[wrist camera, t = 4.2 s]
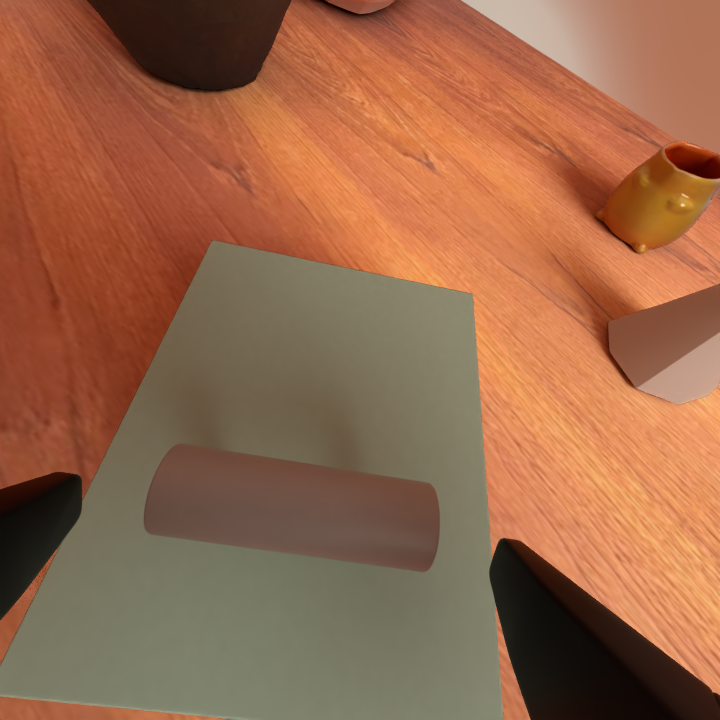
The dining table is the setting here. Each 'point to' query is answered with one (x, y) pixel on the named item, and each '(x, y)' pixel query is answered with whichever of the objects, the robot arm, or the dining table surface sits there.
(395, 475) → the lid
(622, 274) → the dining table surface
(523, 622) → the robot arm
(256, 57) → the pitcher
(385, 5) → the bowl
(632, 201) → the mug
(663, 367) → the flask
